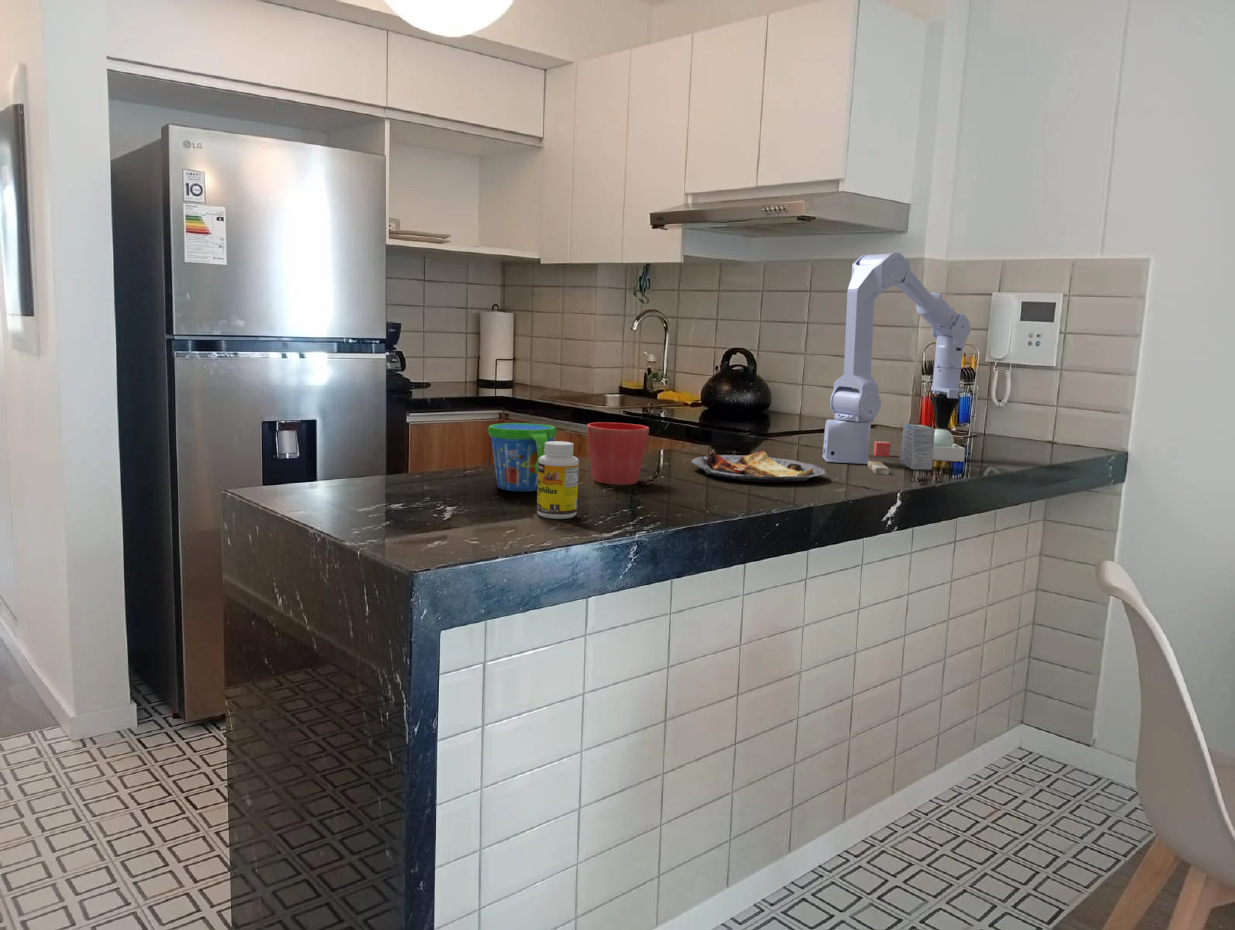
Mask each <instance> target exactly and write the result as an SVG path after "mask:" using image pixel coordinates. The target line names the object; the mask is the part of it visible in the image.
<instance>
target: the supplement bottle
mask: <svg viewBox="0 0 1235 930" xmlns="http://www.w3.org/2000/svg"><path fill="white" fill-rule="evenodd" d="M574 447H575V446H574V443H573V442H570V441H562V440H559V441H558V440H557V441H556V440H553V441H550V442H545V449H544V451H545V452H544V453H545V454H546V455H543V456H541V457H540V458H539V462H538V489H537V491H536V493H537V495H536V497H537V498H536V512H537V515H538V516H540V517H542V518H545V519H551V520H565V519H572V518H574V517H575V516H576V515H577V512H578V511H577V510H578V493H579V492H578V491H579V488H578V487H579V465H580V463H579V458H578V457H576V456H574Z"/></svg>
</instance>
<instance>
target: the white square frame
mask: <svg viewBox="0 0 1235 930" xmlns="http://www.w3.org/2000/svg"><path fill="white" fill-rule="evenodd" d="M965 456H966V448H965V447H963V446H961V445H959V444H956V443H953V446H952V447H936V446H934V449H933V461H941V462H958V463H959V461H960V463H961V462H962V463H964V462H965Z"/></svg>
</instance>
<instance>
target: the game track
mask: <svg viewBox="0 0 1235 930" xmlns="http://www.w3.org/2000/svg"><path fill="white" fill-rule="evenodd" d="M867 468H868V469H869V470H870V471H872V472H873V473H874V474H875V475H876V474H877V475H887V476H888V475H890V474H889V473H890V468H889V467H888V466H887V465H885V464H884V463H883V462H881V461H874V460H873V461H871V460H870V461H868V464H867Z"/></svg>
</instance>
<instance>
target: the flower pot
mask: <svg viewBox="0 0 1235 930" xmlns="http://www.w3.org/2000/svg"><path fill="white" fill-rule="evenodd" d="M586 429H587V430H586V432H587V440H588V441H587V443H588V451H589V458H590V467H591V472H592V473H591V474H592V480H593V481H594V482H596V483H599V484H606V485H610V486H611V485H614V486H615V485H616V486H627V485H630V486H631V485H635V484H637V483H638V482H639V478H640V473H641V470H642V464H643V461H644V455H645V452H646V447H647V443H648V439H649V438H648V437H649V433H650V427H649V426H646V425H643V424H634V423H626V422H625V423H624V422H607V421H605V422H602V421H601V422H600V421H599V422H597V421H596V422H589V423H587V425H586Z"/></svg>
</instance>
